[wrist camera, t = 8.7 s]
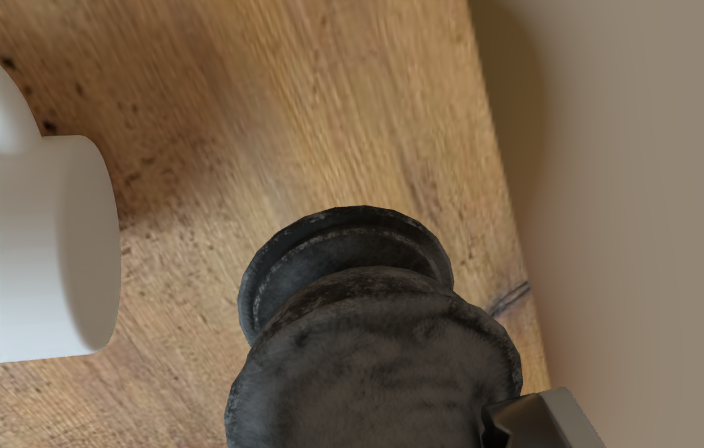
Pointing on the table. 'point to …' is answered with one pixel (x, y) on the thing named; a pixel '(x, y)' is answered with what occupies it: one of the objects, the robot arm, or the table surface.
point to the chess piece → (363, 340)
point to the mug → (54, 239)
